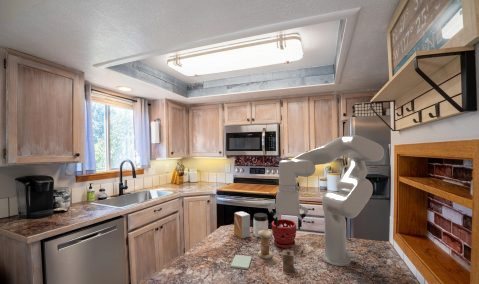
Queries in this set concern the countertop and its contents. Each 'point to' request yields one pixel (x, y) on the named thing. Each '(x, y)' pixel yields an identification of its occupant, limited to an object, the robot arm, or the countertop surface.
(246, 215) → the small box
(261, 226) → the jar
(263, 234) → the cream drawer knob
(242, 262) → the board
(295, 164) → the robot arm
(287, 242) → the plant pot
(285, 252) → the block
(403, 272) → the countertop surface
